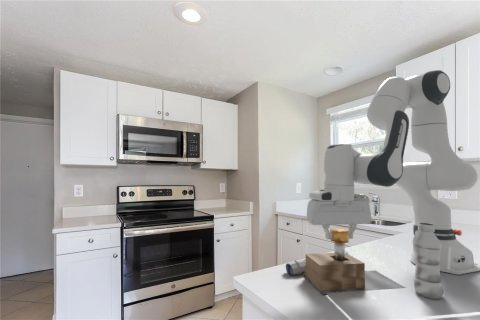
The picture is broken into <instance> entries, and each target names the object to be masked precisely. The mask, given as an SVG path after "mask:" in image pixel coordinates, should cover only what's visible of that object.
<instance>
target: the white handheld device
mask: <svg viewBox="0 0 480 320" xmlns="http://www.w3.org/2000/svg"><path fill="white" fill-rule="evenodd" d="M345 253H347V254H349V252H348V251H347V250H345ZM285 271H286V273H287V274H288V275H289V277H290V276H296V275H301V274H304V273H306V258H305V259H300V260H297V259H295V260H294V261H290V262H288V263H286V264H285Z"/></svg>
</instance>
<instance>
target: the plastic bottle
mask: <svg viewBox="0 0 480 320" xmlns="http://www.w3.org/2000/svg"><path fill="white" fill-rule="evenodd" d="M418 230H419V232H418V233H417V234H416V235H415V236H414V235H413V239H412V240H411V241H412V242H411V243H412V249H413V248H414V253H415V260H416V261H415V263H416V264H415V268H414V269H415V271H414V278H413V288H414V291H415V292H416V293H417V294H418V295H419V296H421V297H423V298H426V299H429V300H435V301H436V300H440V299H442V298H443V296H444V285H443V283H442V279H441V271H440V270H439V268H440V266H439V264H440V253H441V243H440V241H439V239H438V238H437V237H436V236H435V234H434V232H435V229H434V224H430V223H418Z"/></svg>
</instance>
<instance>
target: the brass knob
mask: <svg viewBox="0 0 480 320" xmlns="http://www.w3.org/2000/svg"><path fill="white" fill-rule="evenodd" d="M329 232H330V233H332V234H333V236H332V237H333V239H329V241H331V242H333V245H334V249H333V251H334V252H333V253H334V259H335V260H336V261H345V251H346V249H345V247H346V246H345V244H347V243H349V242H350V239H349V231H348V230H346V229H343V228H342V229H341V228H331V229H329Z"/></svg>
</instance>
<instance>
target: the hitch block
mask: <svg viewBox="0 0 480 320" xmlns="http://www.w3.org/2000/svg"><path fill="white" fill-rule="evenodd" d="M305 259H306V272H305V273H303V277H304V278H305V279H306V280H307V281H308V282H309V284H311V285H312V286H313V287H314V289H316V290H317V291H318V292H319V293H320V294H321V295H322V296H328V294H332V293H334V294H335V293H348V292H349V293H350V292H363V291H377V290H390V289H391V290H395V289H406V287H405V286H403V285H402V284H400V283H398V282H397V281H394V280H393V279H391V278H390V277H387V276H385V275H384V274H382V273H381V272H379V271H377V270H373V269H372V270H366V265H365V262H364V261H361V260H360V259H358V258H356V257H354V256H352V255H351V254H349V253H348V254H347V253H345V261H336V260H335V259H334V252H327V253H326V252H325V253H324V252H322V253H305Z"/></svg>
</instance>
